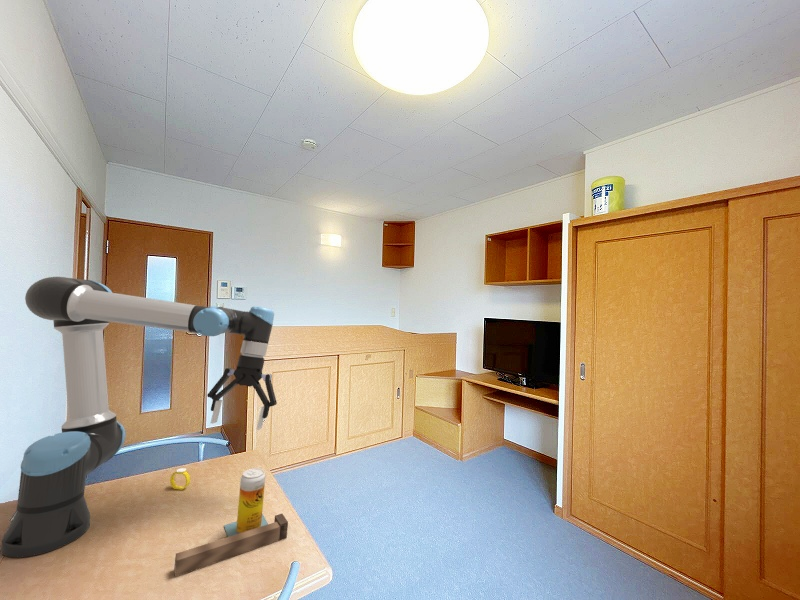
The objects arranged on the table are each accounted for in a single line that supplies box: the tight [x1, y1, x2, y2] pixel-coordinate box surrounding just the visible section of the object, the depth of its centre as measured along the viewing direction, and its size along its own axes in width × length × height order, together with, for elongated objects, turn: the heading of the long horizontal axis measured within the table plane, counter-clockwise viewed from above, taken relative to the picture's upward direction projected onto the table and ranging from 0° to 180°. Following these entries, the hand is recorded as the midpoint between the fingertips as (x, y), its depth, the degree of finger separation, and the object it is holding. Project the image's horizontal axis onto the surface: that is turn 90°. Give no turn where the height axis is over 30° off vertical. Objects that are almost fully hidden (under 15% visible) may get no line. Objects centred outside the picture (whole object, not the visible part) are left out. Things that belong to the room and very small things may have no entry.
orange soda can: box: [236, 467, 266, 533], centre depth 90 cm, size 6×6×15 cm
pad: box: [223, 513, 269, 537], centre depth 90 cm, size 10×9×1 cm
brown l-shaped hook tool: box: [173, 513, 289, 578], centre depth 82 cm, size 24×4×4 cm, turn 128°
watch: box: [169, 467, 191, 491], centre depth 108 cm, size 6×3×6 cm, turn 83°
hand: (236, 425), depth 102 cm, fingers open, 13 cm apart
